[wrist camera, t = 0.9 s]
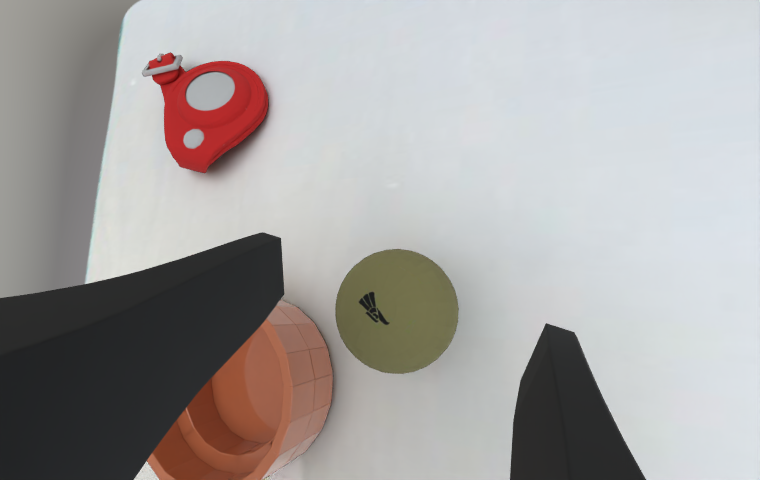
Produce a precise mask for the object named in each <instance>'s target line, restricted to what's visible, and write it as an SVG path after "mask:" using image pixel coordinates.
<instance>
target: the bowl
mask: <svg viewBox="0 0 760 480" xmlns="http://www.w3.org/2000/svg"><path fill="white" fill-rule="evenodd" d="M332 384H333V371H332V366H331V362H330V357H329V353H328V348H327V345H326V343H325V341H324V339H323V338H322V336H321V334H320V332H319V330H318V328H317V327H316V325H315V323H314V322H313V321H312V320H311V319H309V318H308V317H307V316H306V315H305V314H304V313H303V312H302V311H301V310H300V309H299V308H298V307H296V306H294V305H291V304H289V303H287V302H284V301H282V300H280V301H279V302H278V303H277V305H276V306H275V308H274V309H273V311H272V312H271V313H270V315H269V316H268V317H267V319H266V320H265V321H264V322H263V324H262V325H261V326H260V327H259V328H258V329H257V330H256V331H255V332H254V333H253V334H252V336H251V337H250V338H249V339H248V340H247V341H246V342H245V343H244V344H243V345H242V346H241V347H240V348H239V349H238V350H237V351H236V352H235V354H234V355H233V356H232V357H231V358H230V359H229V360H228V361H227V362H226V363H225V364H224V365H223V366H222V367H221V368H220V369H219V370H218V371H217V372H216V373H215V375H214V376H213V377H212V378H211V379H210V380H209V381H208V382H207V383H206V384H205V385H204V387H203V388H202V389H201V390H200V391H199V392H198V393H197V395H196V396H195V397H194V398H193V400H192V401H191V402H190V404H189V405H188V406H187V407H186V409H185V410H184V411H183V413H182V414H181V415H180V416H179V418H178V419H177V420H176V421H175V423H174V424H173V425H172V427H171V428H170V429H169V431H168V432H167V434H166V435H165V436H164V438H163V439H162V440H161V442H160V443H159V444H158V446H157V447H156V448H155V450H154V451H153V453H152V454H151V455H150V457H149V458H148V459H147V462H148V464H149V465H150V466H151V468H152V469H153V471H154V472H155V474H156V475H157V477H158V478H159V480H263V479H265V478H266V477H268V476H269V475H271V474H273V473H274V472H276V471H277V470H279V469H280V468H282V467H283V466H285V465H286V464H288V463H289V462H291V461H292V460H294V459H295V458H297V457H298V456H300V455H301V454H303V453H304V452H305V451H307V449H308V448H309V446H310V445H311V444H312V442H313V441H314V440H315V438H316V437H317V436H318V434H319V433H320V432H321V430H322V428H323V425H324V423H325V420H326V417H327V414H328V411H329V408H330V405H331V401H332Z"/></svg>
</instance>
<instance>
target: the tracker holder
mask: <svg viewBox="0 0 760 480" xmlns="http://www.w3.org/2000/svg"><path fill="white" fill-rule="evenodd" d="M182 59H183V58H182V56H181V55H177V56H174V55H173V54H172V53H168V54H165V55H164V54H159V55H158V57H157V58H156V59H154V60H152V61H149V63H148V64H147V66H146V67H145V68H144V70H143V71H142V75H143V76H144V77H146V76H151V75H152V77H153V80H154V81H155V82H156V83H157V84H159V85H160V86H161V89H162V93H163V96H164V102H165V107H164V132H165V141H166V144H167V147H168V149H169V151H170V153H171V154H172V156H173V158H174V159H175V160H176V162H177V163H178V164H179V166H180V167H182V168H186V169H190V170H194V171H198V172H202V173H206V171H207V168H208V166H209V165H211V164H212V163H213V162H214V161H216V160H217V159H218V158H219V157H220V156H221V155H222V154H223V153H225V152H226V151H228V150H229V149H231V148H233V147H235V146H236V145H237V144H239V143H240V142H241V141H243V140H244V139H245V138H246V137H247V136H248V135H250V134H251V133H252V132H253V131H254V130H255V129H256V128H257V127H258V126H259V125H260V123H261V122H262V121H263V119H264V117H265V115H266V113H267V109H268V95H267V92H266V89H265V87H264V85H263V83H262V81H261V79H260V78H259V76H258V75H257V74H256V73H255V72H254V71H253V70H251V69H250V68H248V67H246V66H245V65H242V64H239V63H235V62H230V61H216V62H210V63H206V64H202V65H199V66H197V67H195V68H193V69H191V70H189V71H187V72H185V71H184V69H183V68H182V67H181V66H180V64H181V62H182Z"/></svg>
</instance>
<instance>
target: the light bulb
mask: <svg viewBox="0 0 760 480" xmlns="http://www.w3.org/2000/svg"><path fill="white" fill-rule="evenodd" d="M458 310H459V308H458V301H457V297H456V293H455V290H454V288H453V286H452V283H451V281H450V280H449V278H448V277H447V275H446V274H445V273H444V271H443V270H442V269H441V268H440V267H439V266H438V265H437V264H436V263H434V262H433V261H432V260H430V259H429V258H427V257H425V256H423V255H421V254H419V253H416V252H413V251H409V250H401V249H393V250H384V251H381V252H377V253H374V254H372V255H370V256H368V257H366V258H364V259H363V260H362V261H360V262H359V263H358V264H356V265H355V266H354V267H353V268H352V269H351V271H350V272H349V273H348V274H347V275H346V277H345V279H344V280H343V282H342V284H341V286H340V289H339V292H338V295H337V300H336V315H335V316H336V322H337V327H338V330H339V333H340V336H341V338H342V340H343V342H344V343H345V345H346V347H347V348H348V349H349V350H350V352H351V353H352V354H353V355H354V356H355V357H356V358H357V359H358V360H360V361H361V362H362V363H363V364H365V365H367V366H368V367H370V368H373V369H376V370H378V371H381V372H385V373H395V374H403V373H409V372H414V371H417V370H419V369H422V368H424V367H427V366H428V365H429V364H431V363H432V362H434V361H435V360H437V359H438V358H439V356H440V355H441V354H442V353H443V352H444V351H445V350H446V349H447V347H448V346H449V344H450V343H451V341H452V339H453V336H454V334H455V331H456V327H457V323H458Z"/></svg>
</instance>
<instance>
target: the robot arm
mask: <svg viewBox="0 0 760 480" xmlns="http://www.w3.org/2000/svg"><path fill="white" fill-rule="evenodd" d="M283 295H284V282H283V265H282V249H281V238H279V237H276V236H273V235H269V234H266V233H259V234H255V235H251V236H248V237H245V238H242V239H239V240H236V241H233V242H230V243H227V244H224V245H221V246H218V247H215V248H212V249H209V250H206V251H203V252H200V253H197V254H194V255H191V256H188V257H185V258H182V259H179V260H175V261H172V262H169V263H165V264H162V265H159V266H156V267H152V268H149V269H146V270H142V271H139V272H135V273H131V274H127V275H123V276H120V277H115V278H111V279H107V280H102V281H98V282H94V283H89V284H84V285H79V286H73V287H68V288H62V289H56V290H51V291H45V292H40V293H34V294H27V295H20V296H13V297H6V298H0V480H134V478H135V477H136V475H137V474H138V472H139V471H140V470H141V468H142V467H143V465H144V464H145V462H146V461H147V459H148V458H149V457H150V455H151V454H152V453H153V451H154V450H155V448H156V447H157V446H158V444H159V443H160V442H161V440H162V439H163V438H164V436H165V435H166V434H167V432H168V431H169V429H170V428H171V427H172V425H173V424H174V423H175V421H176V420H177V419H178V418H179V416H180V415H181V414H182V413H183V411H184V410H185V409H186V407H187V406H188V405H189V404H190V402H191V401H192V400H193V398H194V397H195V396H196V395H197V393H198V392H199V391H200V390H201V389H202V388H203V387H204V385H205V384H206V383H207V382H208V381H209V380H210V379H211V378H212V377H213V376H214V375H215V373H216V372H217V371H218V370H219V369H220V368H221V367H222V366H223V365H224V364H225V363H226V362H227V361H228V360H229V359H230V358H231V357H232V356H233V355H234V354H235V352H236V351H237V350H238V349H239V348H240V347H241V346H242V345H243V344H244V343H245V342H246V341H247V340H248V339H249V338H250V337H251V336H252V334H253V333H254V332H255V331H256V330H257V329H258V328H259V327H260V326H261V325H262V324H263V322H264V321H265V320H266V319H267V317H268V316H269V315H270V313H271V312H272V311H273V309H274V308H275V306H276V305H277V303H278V302H279V301H280V299H281V298H282V296H283ZM510 480H646V479H645V477H644V475H643V474H642V472H641V470H640V468H639V466H638V464H637V463H636V461H635V459H634V457H633V455H632V454H631V452H630V450H629V448H628V446H627V445H626V443H625V441H624V439H623V437H622V435H621V433H620V431H619V429H618V427H617V425H616V423H615V421H614V419H613V417H612V415H611V413H610V411H609V409H608V407H607V405H606V403H605V401H604V399H603V397H602V394H601V392H600V390H599V388H598V386H597V383H596V381H595V379H594V377H593V374H592V372H591V370H590V368H589V365H588V363H587V361H586V358H585V356H584V353H583V351H582V348H581V346H580V343H579V341H578V339H577V337H576V335H575V333H574V332H571V331H568V330H565V329H562V328H559V327H556V326H553V325H550V324H547V323H546V324H545V327H544V329H543V331H542V333H541V336H540V338H539V340H538V342H537V345H536V347H535V349H534V351H533V354H532V356H531V358H530V360H529V363H528V365H527V367H526V369H525V372H524V374H523V376H522V378H521V381H520V387H519V392H518V398H517V403H516V409H515V415H514V422H513V438H512V454H511V473H510Z"/></svg>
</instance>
